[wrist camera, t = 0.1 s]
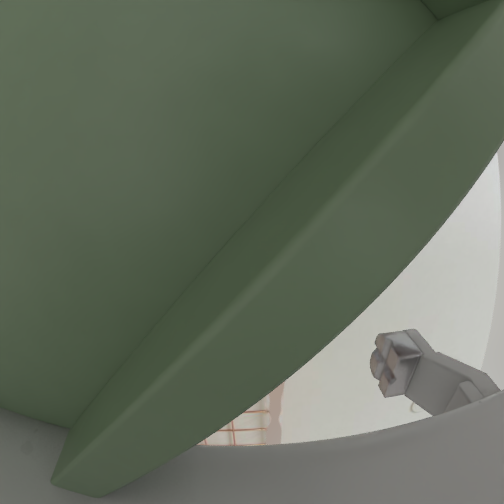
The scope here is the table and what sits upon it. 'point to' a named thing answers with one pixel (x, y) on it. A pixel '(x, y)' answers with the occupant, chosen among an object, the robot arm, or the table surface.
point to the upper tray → (216, 198)
